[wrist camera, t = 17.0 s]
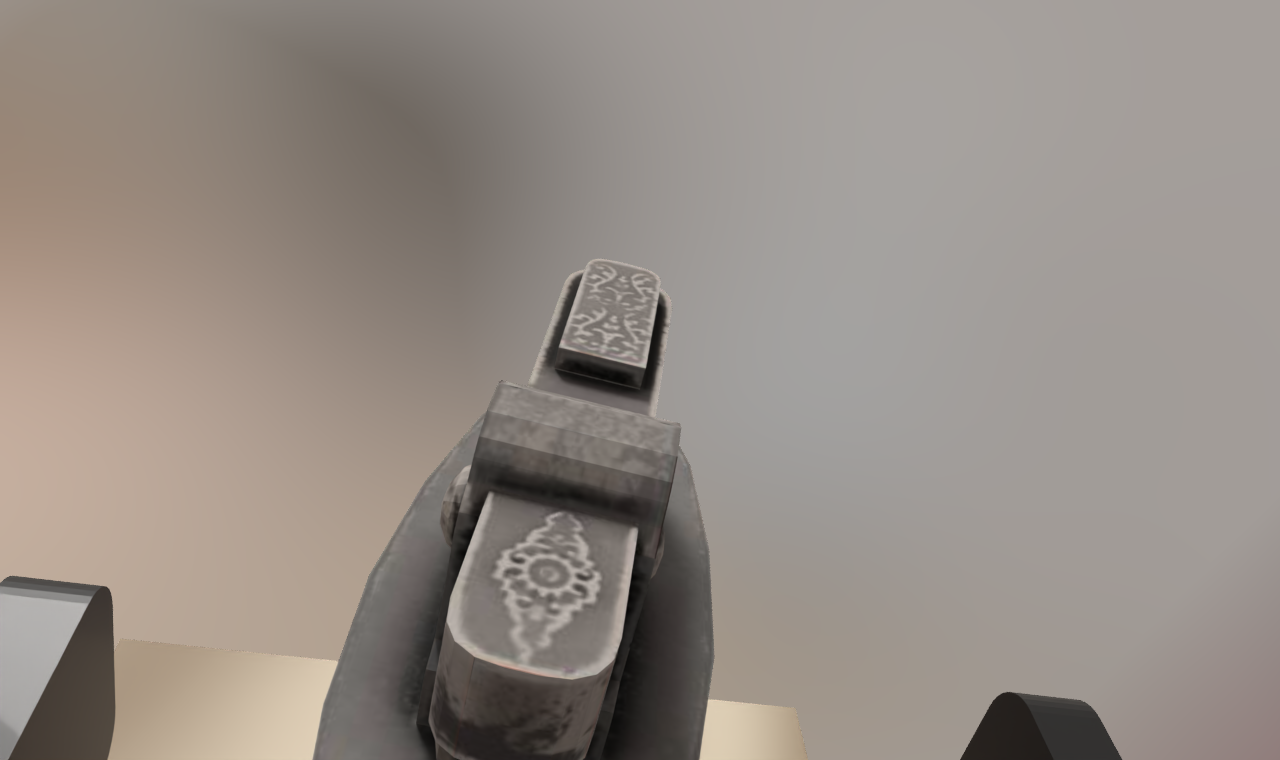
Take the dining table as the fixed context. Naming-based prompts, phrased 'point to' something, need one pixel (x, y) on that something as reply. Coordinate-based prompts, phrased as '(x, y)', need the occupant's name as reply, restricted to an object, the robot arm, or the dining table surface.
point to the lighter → (544, 567)
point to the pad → (317, 709)
